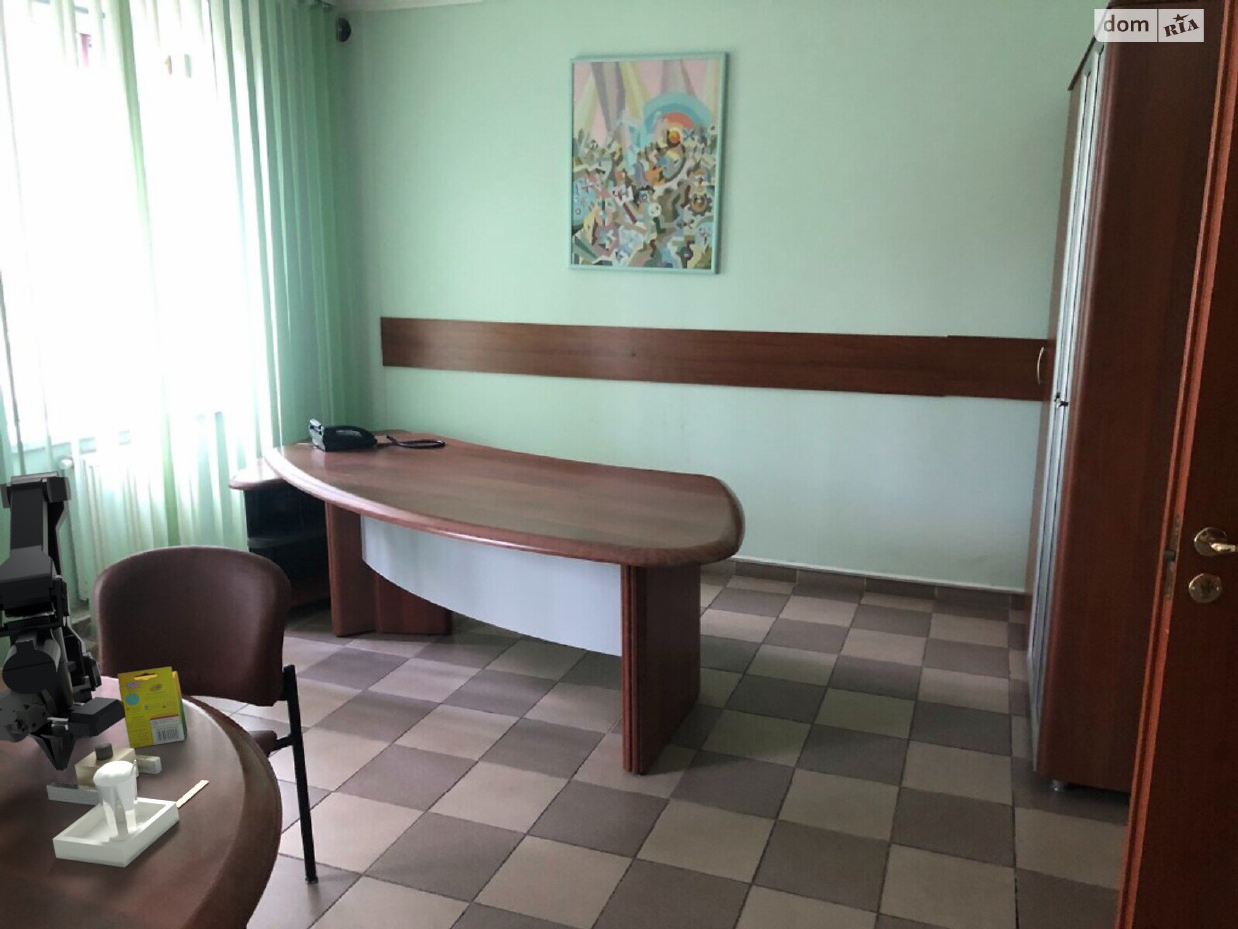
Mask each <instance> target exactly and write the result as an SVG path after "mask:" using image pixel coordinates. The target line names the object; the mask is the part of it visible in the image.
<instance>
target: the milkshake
mask: <svg viewBox="0 0 1238 929" xmlns="http://www.w3.org/2000/svg"><path fill="white" fill-rule="evenodd" d="M135 763H136V760H135V761H134V762H133V764H132V763H129V762H126V761H114V762H110V763H107V764H105V765H104V766H102V767H101V768H100V769H98V770H97V772H96V773H95V775H94V778H93V781H94V784H95V787H96V790H97V794H98V797H99V800H100V803H101V807H102V810H103V814H104V818H105V821H106V825H107V829H108V832H109V836H110V838H111V839H112V840H114V841H122V840H126V839H127V838H128V837H129V836H130V835H132V834H133V833H134V832H135V831H136V830H138V829H139V828H140V823H139V810H138V798H137V797H138V789H137V788H138V786H137V777H136V767H135Z"/></svg>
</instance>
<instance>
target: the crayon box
mask: <svg viewBox="0 0 1238 929" xmlns="http://www.w3.org/2000/svg"><path fill="white" fill-rule="evenodd" d="M144 674H148V675H144ZM117 679H118V680H117V681H118V689H119V693H120V701H122V702H123V703H124V709H125V715H126V717H125V718H124V721H125V727H126V732H127V738H128V743H129V748H132V749H138V748H142V747H143V748H144V747H149V746H156V745H161V744H162V745H163V744H168V743H169V744H170V743H175V742H184V741H185V740H186V735H187V732H188V727H187V721H186V720H187V719H186V715H185V709H184V704H183V697H182V690H181V685H180V684H181V683H180V681H179V674H178V671H177V670H174V671H173V667H172V666H165V667H159V668H151V669H143V670H142V669H141V670H136V671H129V672H122V673H117Z"/></svg>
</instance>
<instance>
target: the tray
mask: <svg viewBox="0 0 1238 929" xmlns="http://www.w3.org/2000/svg"><path fill="white" fill-rule="evenodd" d="M137 798H138V810H139V823H140V828H139V829H138V830H136V831H135V832H134V833H133V834H132V835H130V836H129V837H128V838H127V839H126V840H122V841H114V840H112V839H111V838H110V836H109V832H108V829H107V825H106V821H105V818H104V814H103V810H102V807H101V803H99V804H98V805H97V806H96V805H94V807H93V808H91V809H90V810H89V811H88V812H86V813H84V814H83V815H82V816H81V817H80V818H78V819H77V820H76V821H73V823H72V824H70V825H69V826H68V827H67V828H65V829H64V830H63V831H61V832H60V833H59V834H57V835H56V836H55V837H53V838H52V842H53V848H54V852H55V854H54V855H55V858H56V859H63V860H70V861H75V862H84V863H92V864H96V865H97V864H98V865H106V866H111V867H119V868H126V867H127V866H128V865H129V864H131V862H133V861H134V860H135V859H136V858H138V857H139V856H140V855H141V854H142V853H143V852H144V851H146V850H147V849H148V848H149V847H150V846H151V845H152V844H153V843H155V842H156V841H157V840H158V839H160V838H161V837H162V836H163V835H164V834H165V833H166V832H167V831H168V830H170V829H171V828H172V827H173V826H174V825H175V824H177V823H178V822H179V821H180V816H179V808H177V801H171V800H162V799H154V798H146V797H139V796H137Z"/></svg>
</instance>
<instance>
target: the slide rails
mask: <svg viewBox="0 0 1238 929" xmlns="http://www.w3.org/2000/svg"><path fill="white" fill-rule="evenodd" d="M135 755H136V761H137V767H138V773H143V774H153V775H158V774H159V773H160V772H161V771H162V770H163V769H162V763H161V758H160V757H159V756H153V755H144V754H143V755H142V754H135ZM209 783H210V781H209V780H203V779H202V780H200V782H199V783H197V784H196V785H195V786H194V787H193V788H191V789H190V790H189V791H187V793H186V794H184V795H183V796H182V797H181V798H179V799H178V800H177V801H176V802H177V809H179V808H181V807H182V806H184V805H185V804H186V803H187V802H188V801H189V800H190V799H192V798H193V796H195V795H197V794H198V792H200V791H201V790H202V789H203V788H204V787H206V786H207V785H208V784H209ZM46 791H47V795H48V796H47V798H48V800H50V801H58V802H63V803H64V802H67V803H73V804H82V805H90V806H97V805H98V804H99V803H100V800H99V797H98V794H97V790H96V787H93V786H84V785H78V784H76V783H75V784H74V783H68V782H67V783H66V782H59V781H51V782H50V783H49V784H47V785H46Z"/></svg>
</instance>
